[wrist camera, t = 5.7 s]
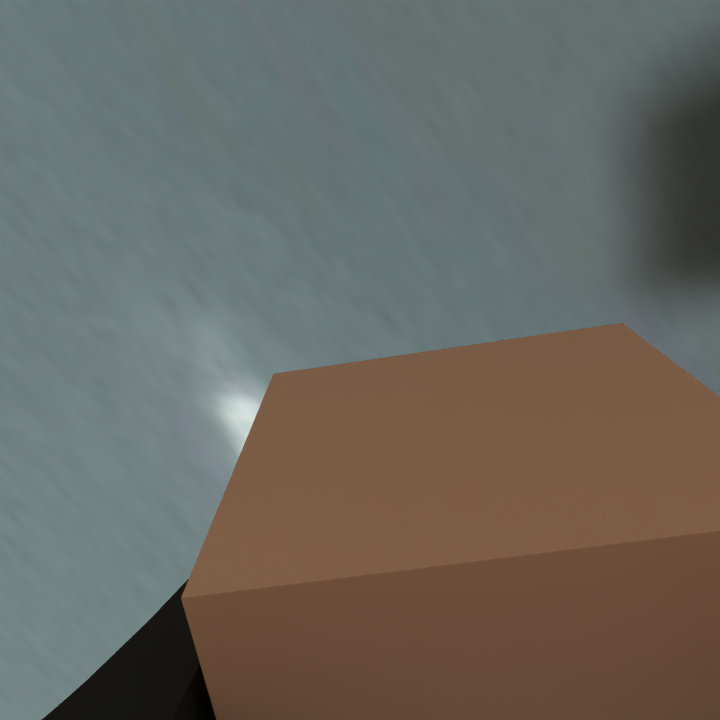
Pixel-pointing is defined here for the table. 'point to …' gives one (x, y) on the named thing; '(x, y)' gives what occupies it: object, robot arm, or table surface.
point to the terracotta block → (470, 540)
